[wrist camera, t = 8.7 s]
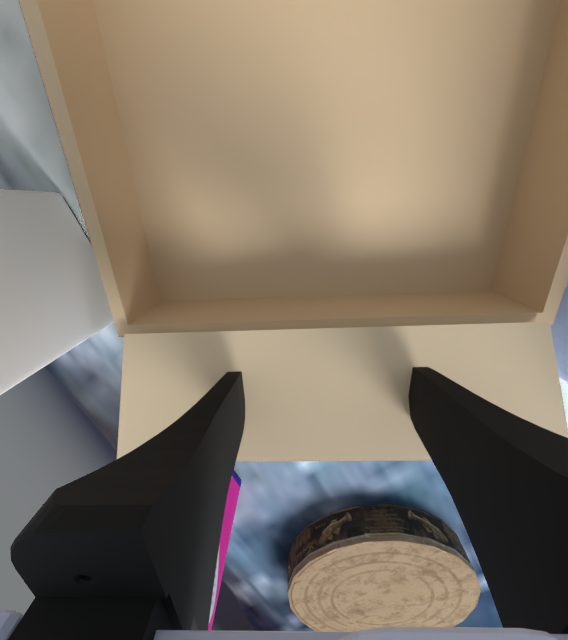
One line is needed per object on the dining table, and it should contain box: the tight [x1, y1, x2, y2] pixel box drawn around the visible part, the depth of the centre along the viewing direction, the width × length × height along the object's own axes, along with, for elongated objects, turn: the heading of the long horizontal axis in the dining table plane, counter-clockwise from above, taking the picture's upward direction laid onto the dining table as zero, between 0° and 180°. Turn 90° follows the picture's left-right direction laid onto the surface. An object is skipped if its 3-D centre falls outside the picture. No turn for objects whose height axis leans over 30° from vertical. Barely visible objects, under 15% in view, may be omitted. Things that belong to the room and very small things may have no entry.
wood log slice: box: [288, 504, 481, 632], centre depth 25 cm, size 16×16×3 cm
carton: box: [19, 0, 568, 337], centre depth 12 cm, size 20×17×4 cm
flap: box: [117, 322, 568, 462], centre depth 12 cm, size 19×6×1 cm
